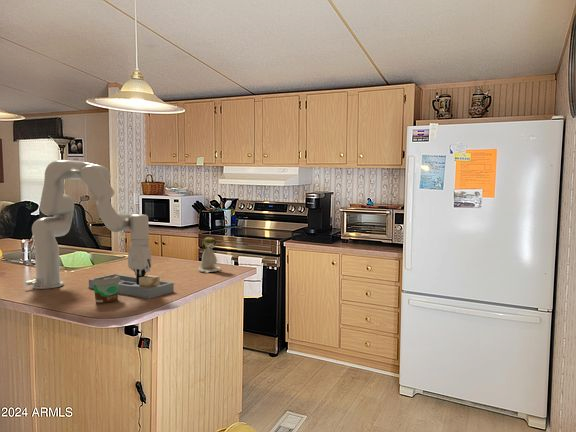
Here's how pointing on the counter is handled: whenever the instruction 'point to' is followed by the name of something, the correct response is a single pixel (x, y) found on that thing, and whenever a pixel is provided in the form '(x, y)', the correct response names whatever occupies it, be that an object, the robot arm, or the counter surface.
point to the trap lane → (131, 288)
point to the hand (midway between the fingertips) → (140, 284)
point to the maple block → (149, 281)
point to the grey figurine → (209, 256)
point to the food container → (106, 289)
